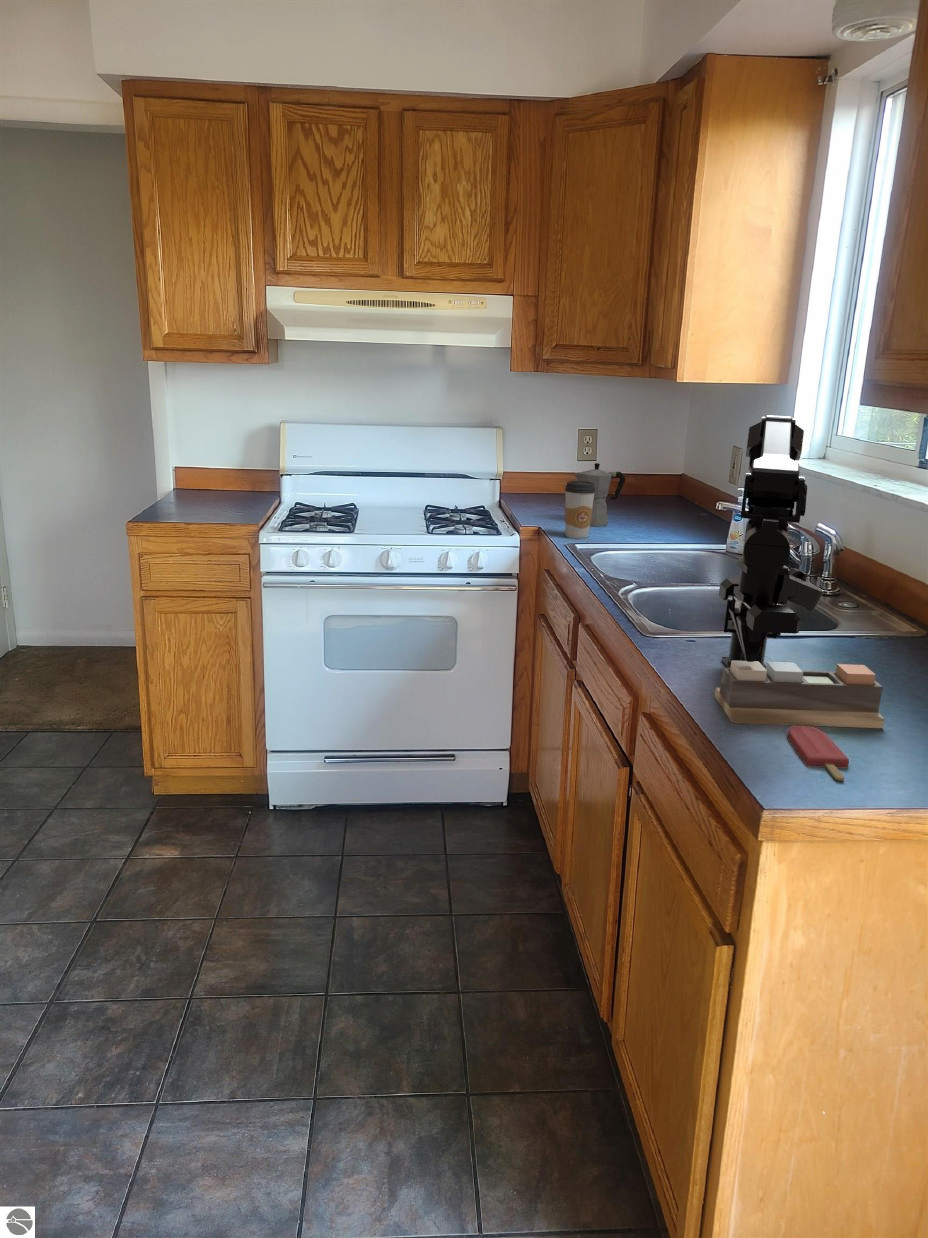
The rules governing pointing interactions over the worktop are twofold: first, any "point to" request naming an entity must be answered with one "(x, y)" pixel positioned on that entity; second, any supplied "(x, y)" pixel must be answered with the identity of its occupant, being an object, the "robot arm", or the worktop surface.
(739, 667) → the ivory key
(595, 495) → the coffeepot
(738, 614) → the robot arm
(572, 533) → the coffee cup
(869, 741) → the worktop surface
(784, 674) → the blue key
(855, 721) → the brown long open box
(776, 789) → the worktop surface
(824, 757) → the popsicle
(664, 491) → the worktop surface
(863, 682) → the terracotta key
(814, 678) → the sage key
